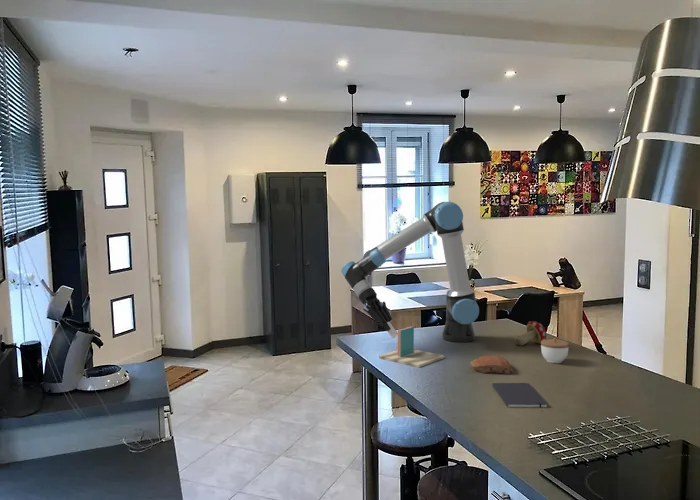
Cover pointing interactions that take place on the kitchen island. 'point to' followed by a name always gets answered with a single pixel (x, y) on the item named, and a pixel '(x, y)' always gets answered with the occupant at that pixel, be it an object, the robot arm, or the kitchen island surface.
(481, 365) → the ceramic shard
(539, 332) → the decorative mushroom
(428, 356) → the board
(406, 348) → the tile
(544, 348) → the lidded jar
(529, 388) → the notebook
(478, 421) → the kitchen island surface
